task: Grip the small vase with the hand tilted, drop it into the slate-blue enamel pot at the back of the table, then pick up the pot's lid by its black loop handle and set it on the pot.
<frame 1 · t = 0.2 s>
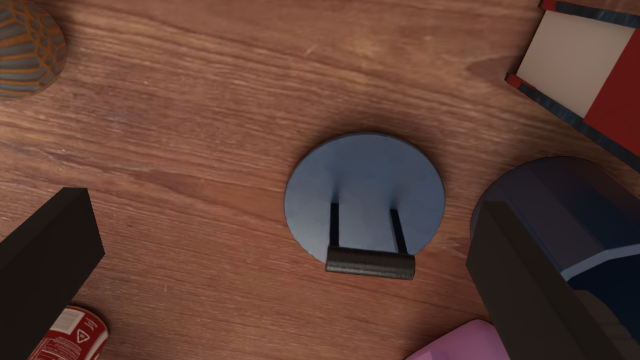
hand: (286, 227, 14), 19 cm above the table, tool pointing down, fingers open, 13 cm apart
pot: (543, 221, 36), on the table
vase: (37, 37, 30), on the table
soda can: (81, 322, 44), on the table
lid: (363, 205, 35), point 1 cm above the table
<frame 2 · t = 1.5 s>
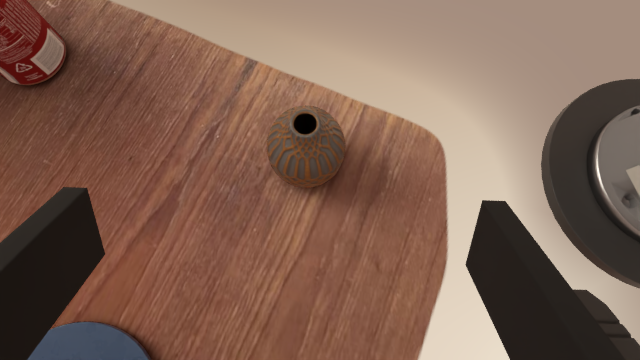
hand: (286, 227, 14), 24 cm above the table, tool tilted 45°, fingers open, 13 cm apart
vase: (306, 161, 40), on the table
soda can: (38, 60, 42), on the table
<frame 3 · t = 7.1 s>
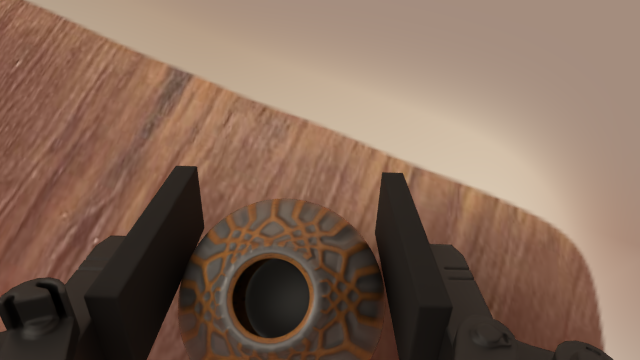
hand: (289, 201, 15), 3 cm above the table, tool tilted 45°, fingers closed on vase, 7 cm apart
vase: (289, 299, 18), on the table, touching gripper
when the fingers open (12 cm above the table, at t = 18.0 s): vase drops 8 cm, resting on pot.
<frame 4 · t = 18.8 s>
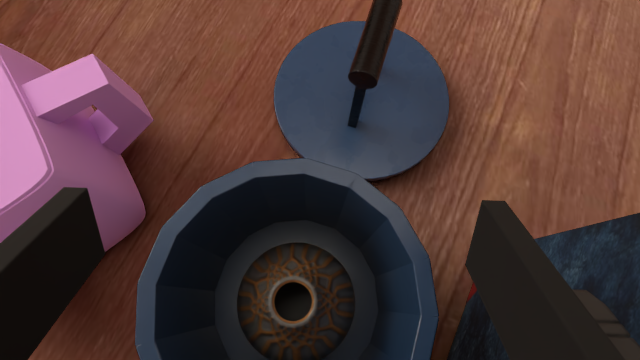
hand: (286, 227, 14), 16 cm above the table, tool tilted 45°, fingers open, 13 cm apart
pot: (296, 300, 28), on the table
vase: (298, 301, 28), resting on pot
lid: (360, 98, 32), point 1 cm above the table
teakettle: (36, 214, 30), on the table
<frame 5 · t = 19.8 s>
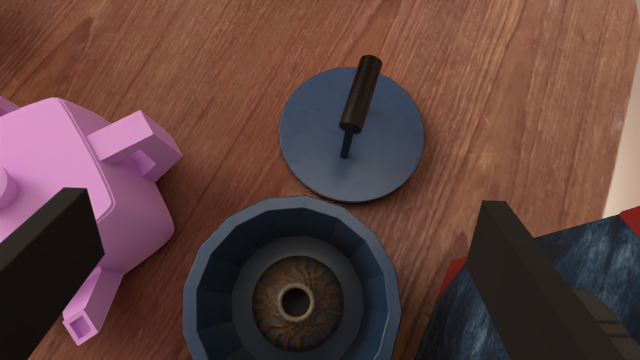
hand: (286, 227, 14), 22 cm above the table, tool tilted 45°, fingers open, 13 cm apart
pot: (298, 301, 35), on the table
vase: (299, 302, 34), resting on pot
lid: (351, 133, 39), point 1 cm above the table
teakettle: (84, 230, 36), on the table
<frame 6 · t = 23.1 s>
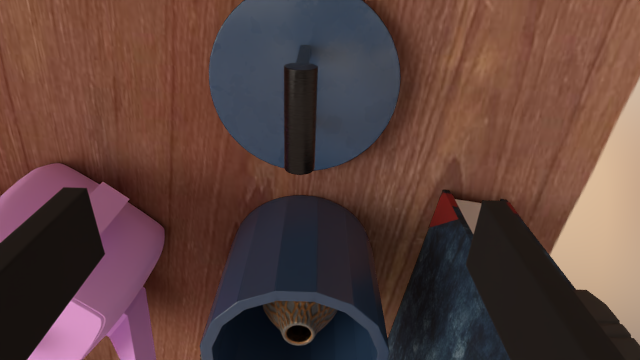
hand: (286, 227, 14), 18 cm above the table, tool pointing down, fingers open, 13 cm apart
pot: (302, 253, 38), on the table
vase: (303, 255, 37), resting on pot
book: (429, 299, 41), on the table
lid: (305, 84, 29), point 1 cm above the table
teakettle: (85, 245, 38), on the table
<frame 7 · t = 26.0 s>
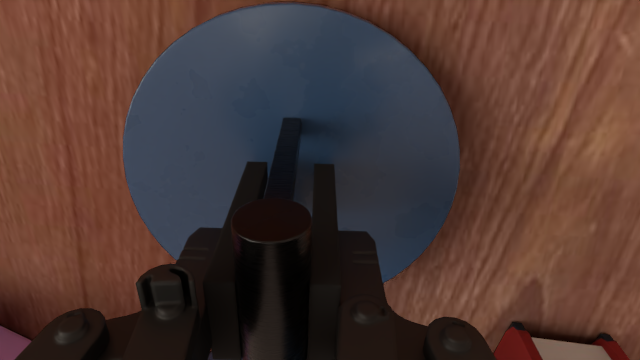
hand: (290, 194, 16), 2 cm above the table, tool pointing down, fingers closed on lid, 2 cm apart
lid: (293, 176, 17), point 1 cm above the table, touching gripper
when the fingers open (13 cm above the table, at t = 31.7 s): lid stays where it is, resting on pot.
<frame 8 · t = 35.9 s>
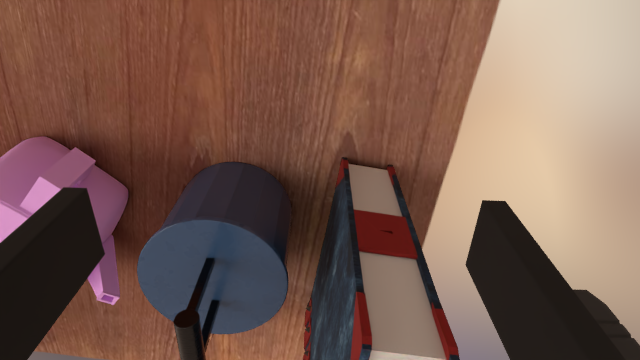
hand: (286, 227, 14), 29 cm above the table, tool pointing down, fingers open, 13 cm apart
pot: (237, 210, 48), on the table
book: (344, 249, 51), on the table
lid: (214, 277, 38), point 11 cm above the table, touching pot
teakettle: (66, 204, 48), on the table
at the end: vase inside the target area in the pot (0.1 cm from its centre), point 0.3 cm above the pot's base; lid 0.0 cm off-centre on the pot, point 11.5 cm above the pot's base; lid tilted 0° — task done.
